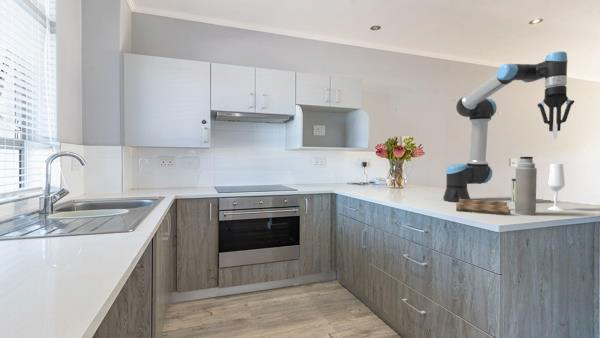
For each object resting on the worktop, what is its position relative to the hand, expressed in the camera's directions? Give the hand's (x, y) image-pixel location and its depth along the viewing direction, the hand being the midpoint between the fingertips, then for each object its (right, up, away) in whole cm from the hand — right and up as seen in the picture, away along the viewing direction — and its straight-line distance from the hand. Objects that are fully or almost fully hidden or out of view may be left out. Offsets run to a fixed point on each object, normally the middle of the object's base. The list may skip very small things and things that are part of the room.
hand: (554, 138), depth 132 cm
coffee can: (+17, -35, +42) cm, 57 cm away
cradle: (-23, -36, +17) cm, 46 cm away
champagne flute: (+15, -36, +17) cm, 42 cm away
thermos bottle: (-8, -37, +7) cm, 38 cm away
